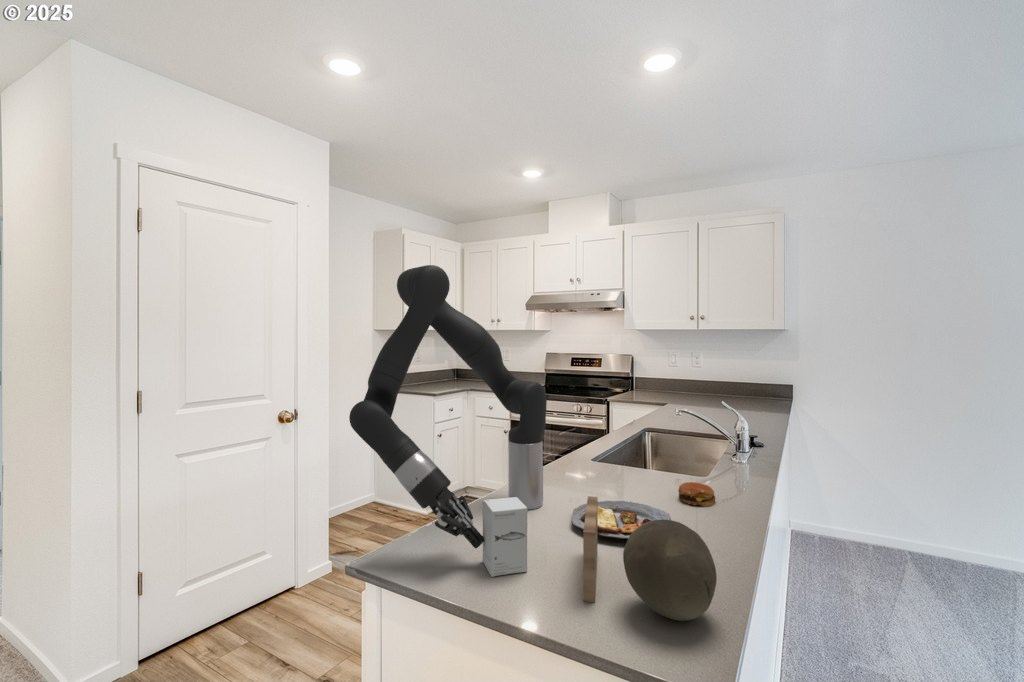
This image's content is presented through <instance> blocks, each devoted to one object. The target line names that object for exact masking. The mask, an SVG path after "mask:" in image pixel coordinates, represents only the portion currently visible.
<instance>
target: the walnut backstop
mask: <svg viewBox="0 0 1024 682" xmlns="http://www.w3.org/2000/svg"><path fill="white" fill-rule="evenodd" d="M598 502H599V500H598V496H591V495H589V496H587V501H586V503H587V507H586V515H585V523H584V531H583V530H582V532H583V533H582V535H583V538H582V539H583V541H582V542H583V543H582V546H583V551H582V552H583V553H582V554H583V555H582V556H583V557H582V558H583V559H582V560H583V561H582V562H583V563H582V565H583V567H582V568H583V569H582V570H583V571H582V572H583V575H582V576H583V577H582V580H583V584H582V585H583V587H582V588H583V593H582V594H583V595H582V597H583V599H582V601H583V602H585V603H586V602H588V603H589V602H590V603H596V595H597V594H596V592H597V591H596V590H597V575H598V574H597V572H598V571H597V570H598V569H597V568H598V535H597V532H598Z"/></svg>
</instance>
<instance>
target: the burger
mask: <svg viewBox="0 0 1024 682" xmlns="http://www.w3.org/2000/svg"><path fill="white" fill-rule="evenodd" d="M677 490H678V491H677V492H678V498H679V499H680V500H681V501H682V502H683V503H686V504H688V505H693V506H700V507H702V508H704V507H706V508H707V507H712V506H713V505H714V504H715V502H716V499H717V498H716V495H715V491H714V490H713V488H712V487H710V486H709V485H707V484H703V483H700V482H689V481H688V482H684V483H681V484H680V485H679V487H678V489H677Z"/></svg>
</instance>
